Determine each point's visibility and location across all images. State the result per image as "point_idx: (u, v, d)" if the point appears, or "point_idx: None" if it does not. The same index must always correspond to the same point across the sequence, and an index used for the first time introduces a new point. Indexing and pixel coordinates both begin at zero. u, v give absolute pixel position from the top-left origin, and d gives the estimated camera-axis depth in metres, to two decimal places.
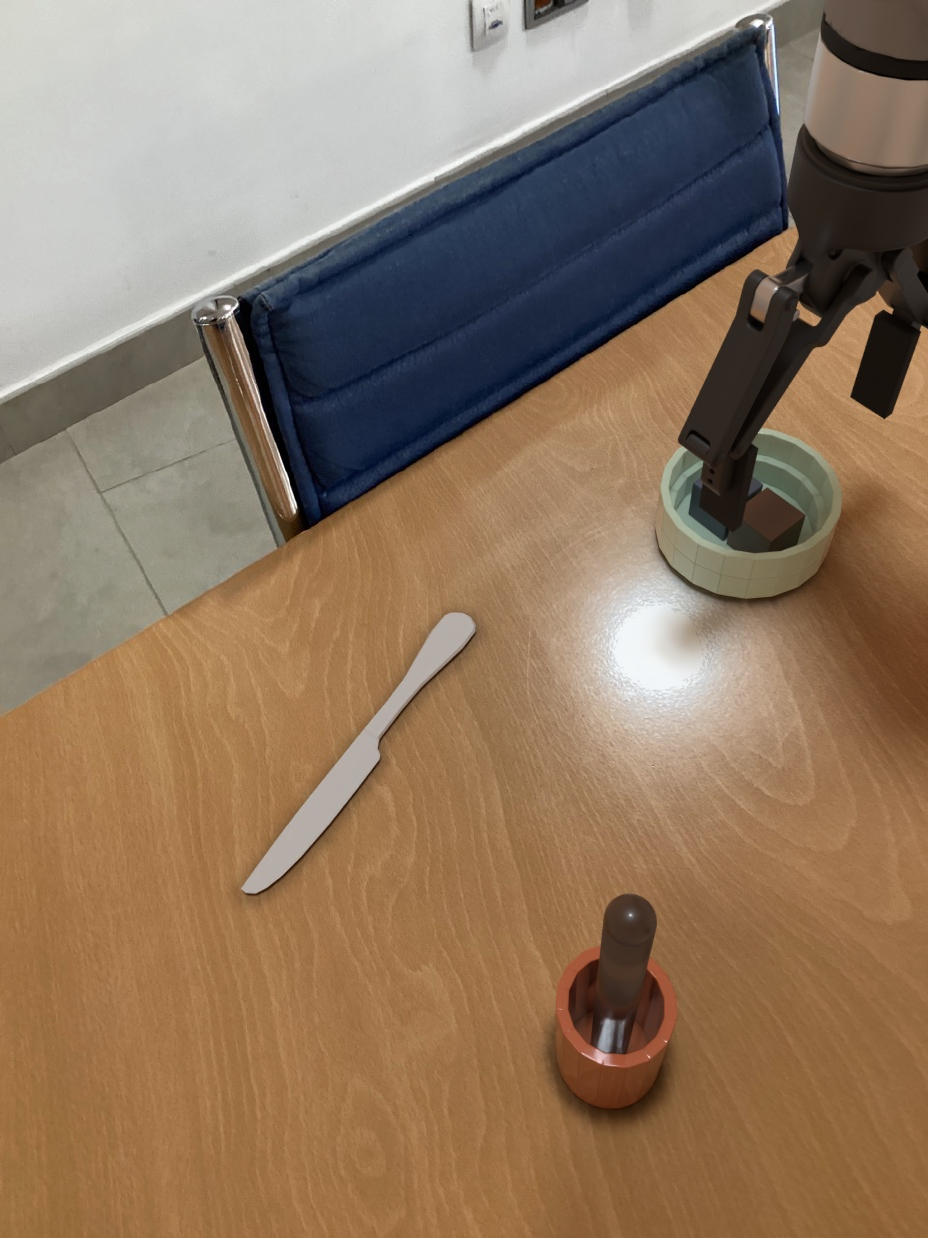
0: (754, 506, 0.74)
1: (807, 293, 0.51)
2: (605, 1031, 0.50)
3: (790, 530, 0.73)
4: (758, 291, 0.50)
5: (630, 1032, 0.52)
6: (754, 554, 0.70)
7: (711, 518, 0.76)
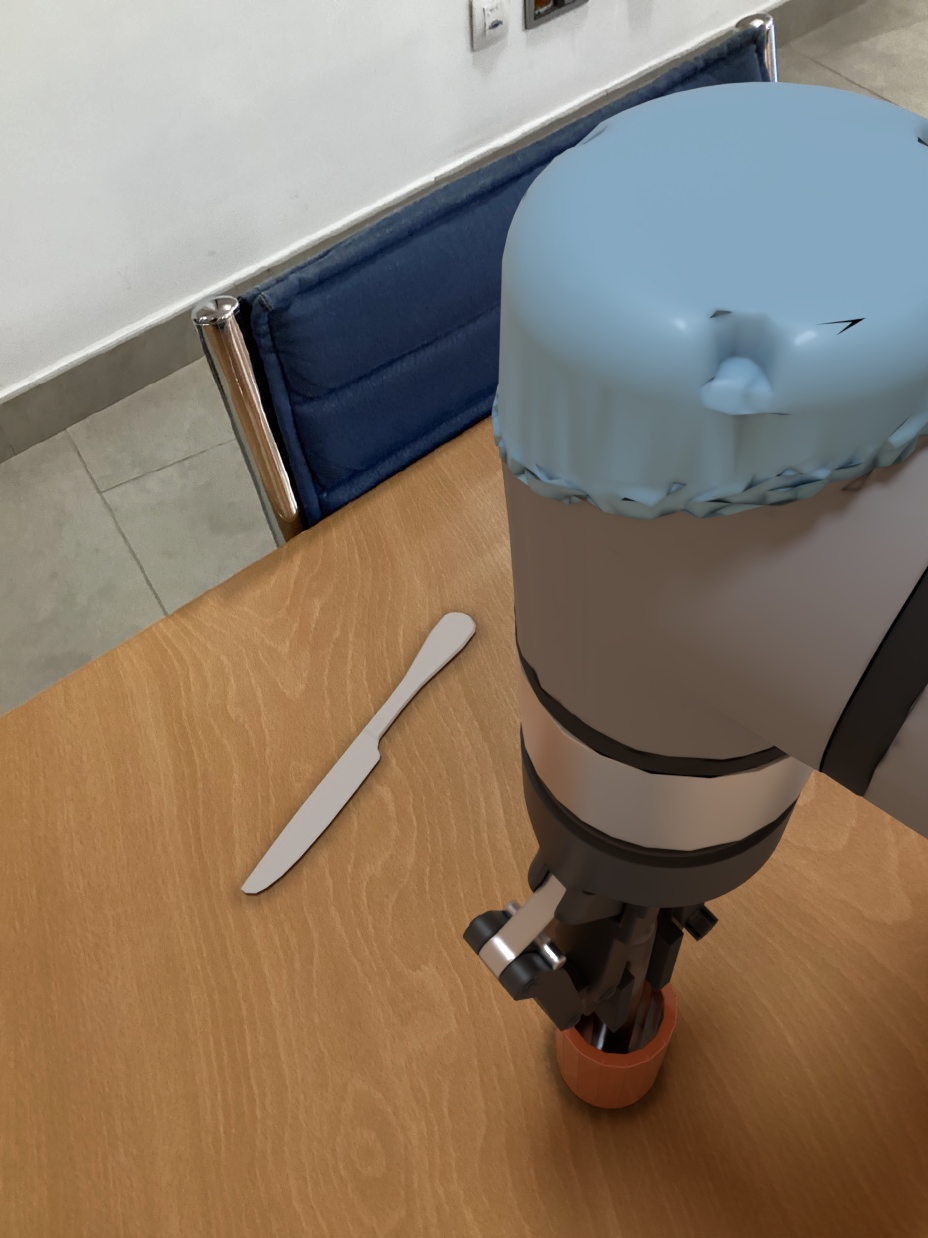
0: None
1: (561, 922, 0.31)
2: (606, 1031, 0.50)
3: None
4: None
5: (631, 1032, 0.51)
6: None
7: None
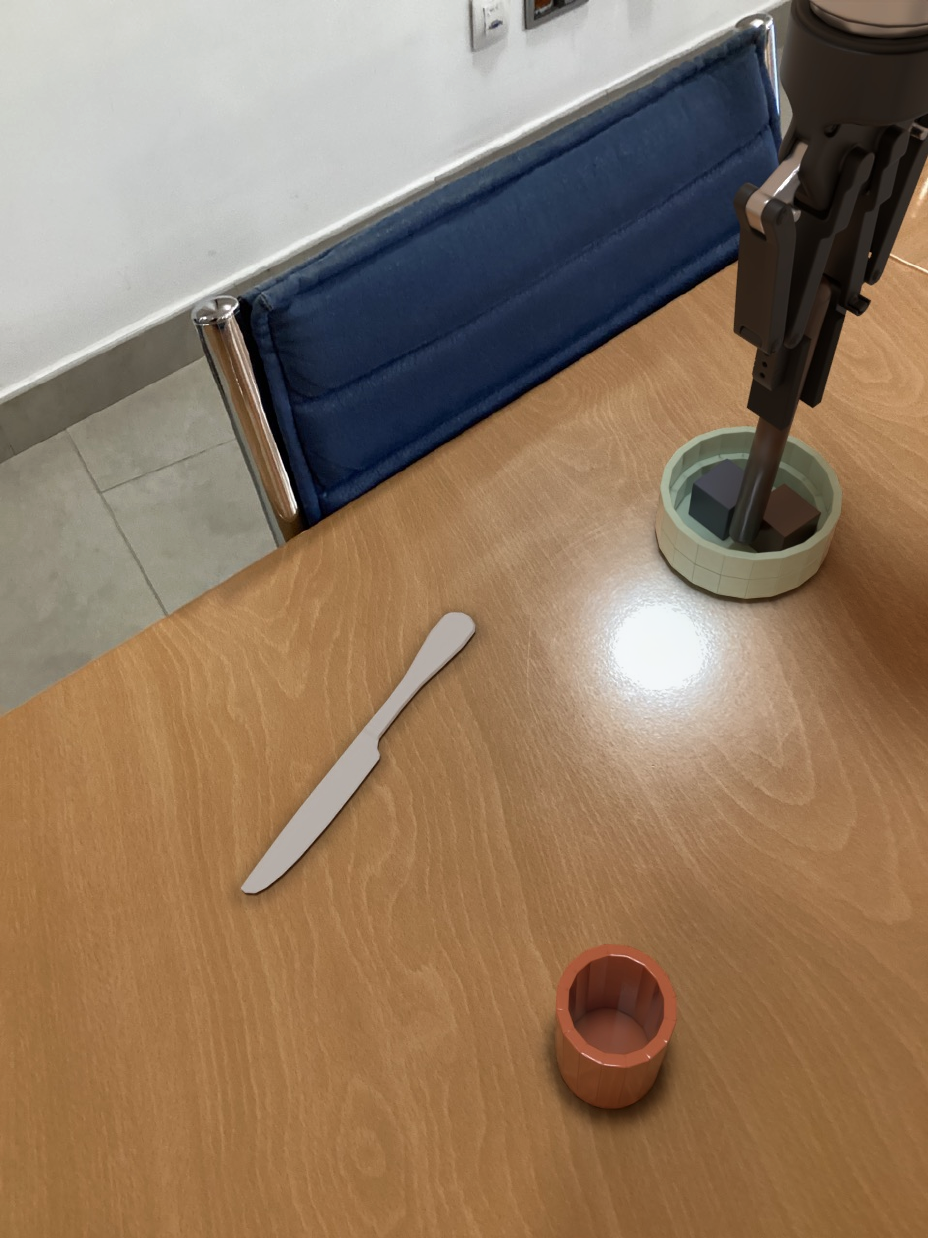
0: (770, 501, 0.74)
1: (802, 177, 0.48)
2: (760, 473, 0.68)
3: (804, 527, 0.73)
4: (748, 211, 0.49)
5: None
6: (754, 554, 0.70)
7: (711, 518, 0.76)
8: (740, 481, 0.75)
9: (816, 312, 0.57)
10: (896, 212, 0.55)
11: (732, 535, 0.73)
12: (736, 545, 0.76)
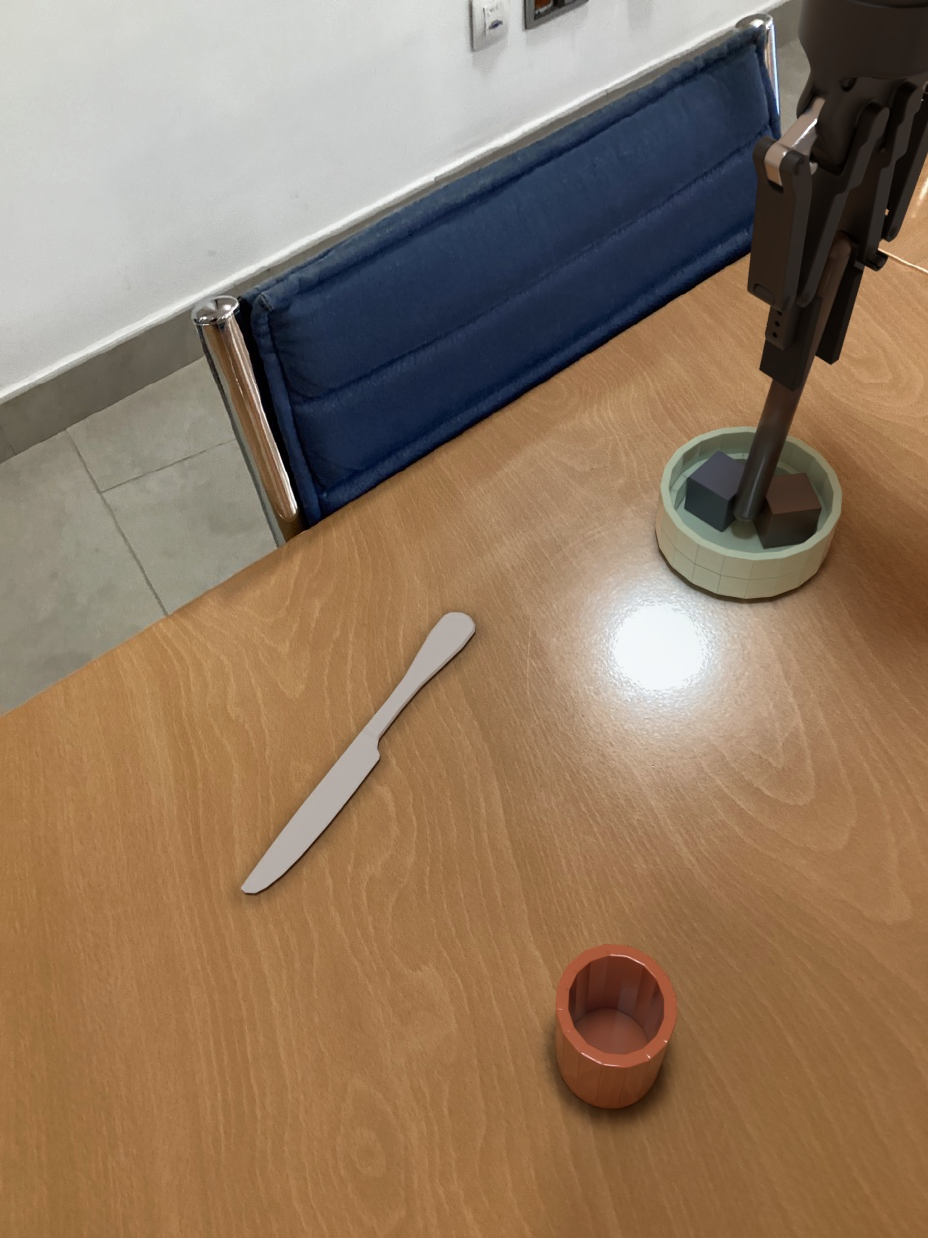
0: (781, 481, 0.75)
1: (819, 130, 0.50)
2: (767, 440, 0.69)
3: (799, 514, 0.73)
4: (766, 163, 0.51)
5: (780, 453, 0.70)
6: (754, 554, 0.70)
7: (709, 510, 0.76)
8: (735, 471, 0.75)
9: (834, 267, 0.59)
10: (912, 169, 0.57)
11: (734, 510, 0.74)
12: (736, 545, 0.76)
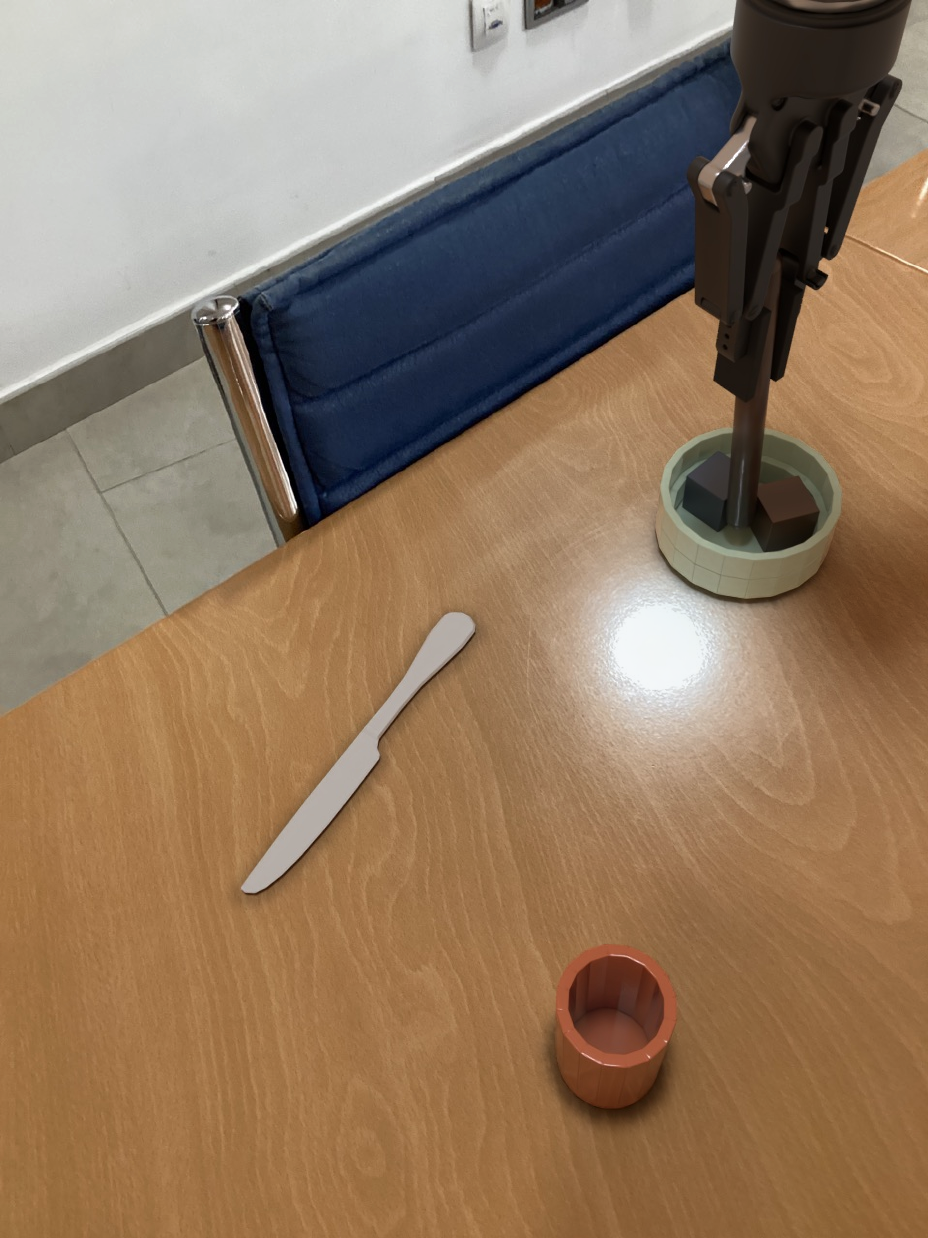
0: (775, 487, 0.74)
1: (752, 149, 0.50)
2: (735, 449, 0.69)
3: (798, 520, 0.73)
4: (700, 184, 0.51)
5: (754, 466, 0.70)
6: (754, 554, 0.70)
7: (705, 510, 0.76)
8: None
9: None
10: (851, 187, 0.57)
11: None
12: (736, 545, 0.76)
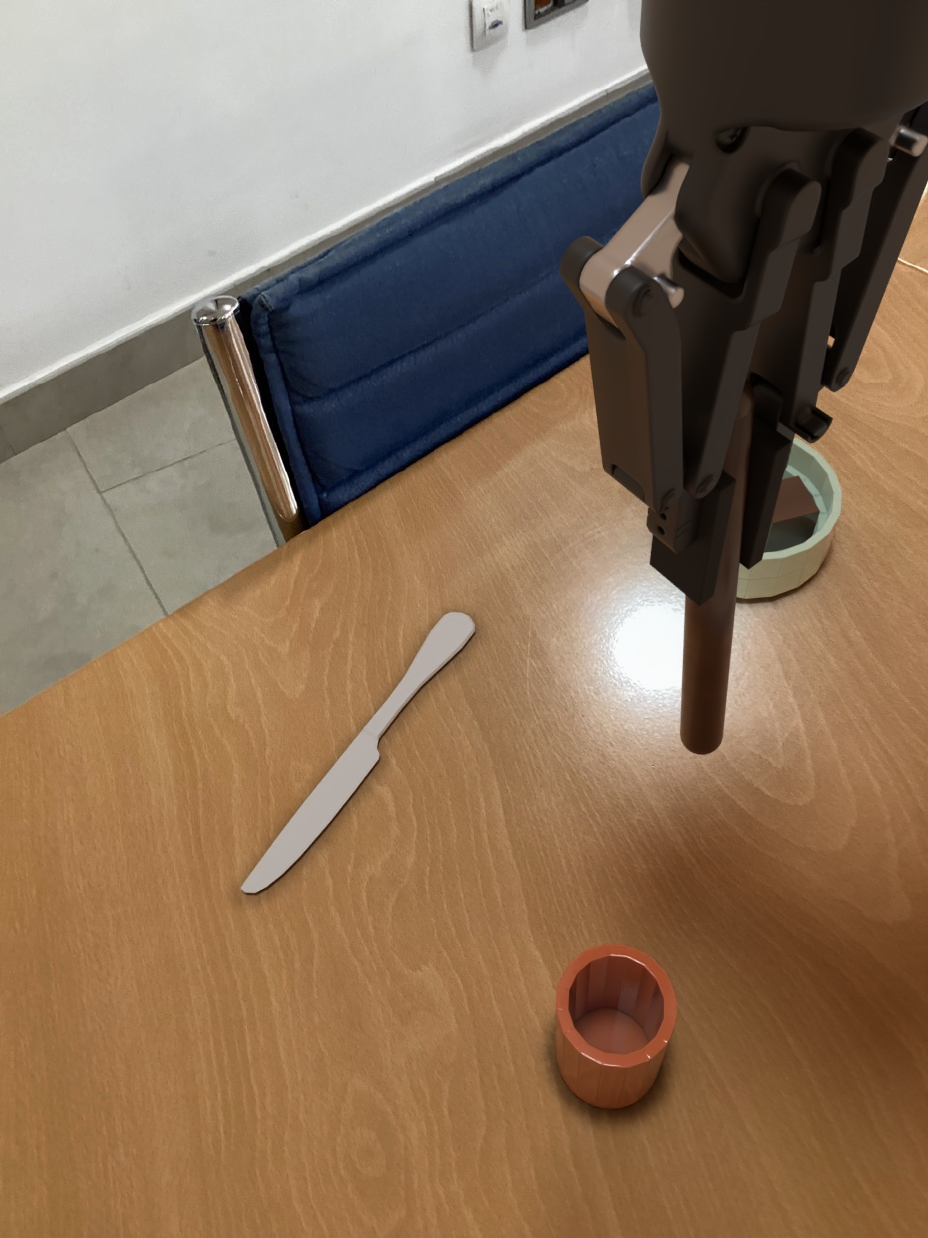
0: None
1: (682, 226, 0.26)
2: (688, 657, 0.45)
3: (798, 520, 0.73)
4: (584, 290, 0.26)
5: (718, 679, 0.45)
6: None
7: None
8: None
9: None
10: (873, 278, 0.32)
11: (680, 731, 0.50)
12: None
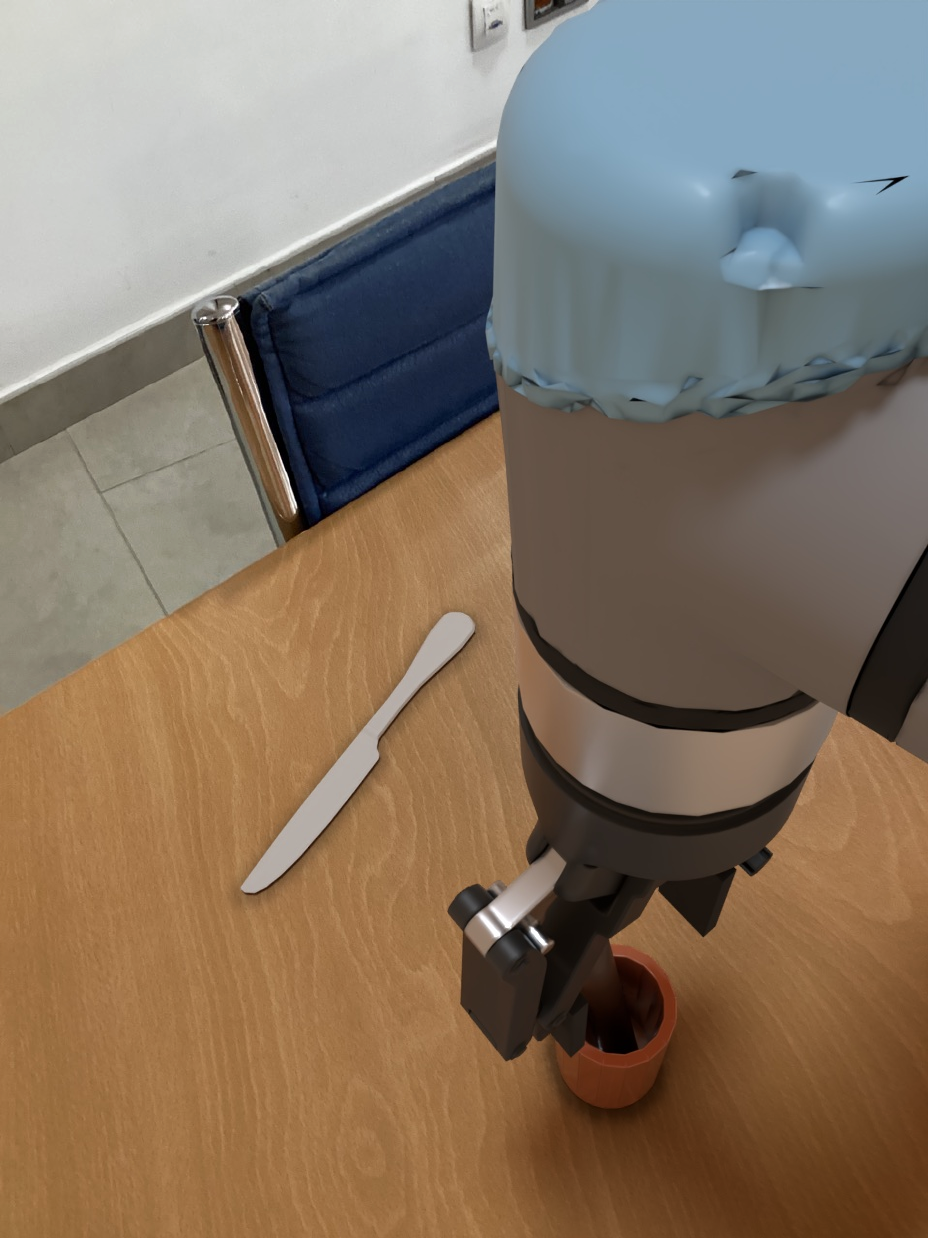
0: None
1: (561, 898, 0.29)
2: (588, 1014, 0.51)
3: None
4: (467, 937, 0.29)
5: (618, 1031, 0.52)
6: None
7: None
8: None
9: None
10: None
11: None
12: None
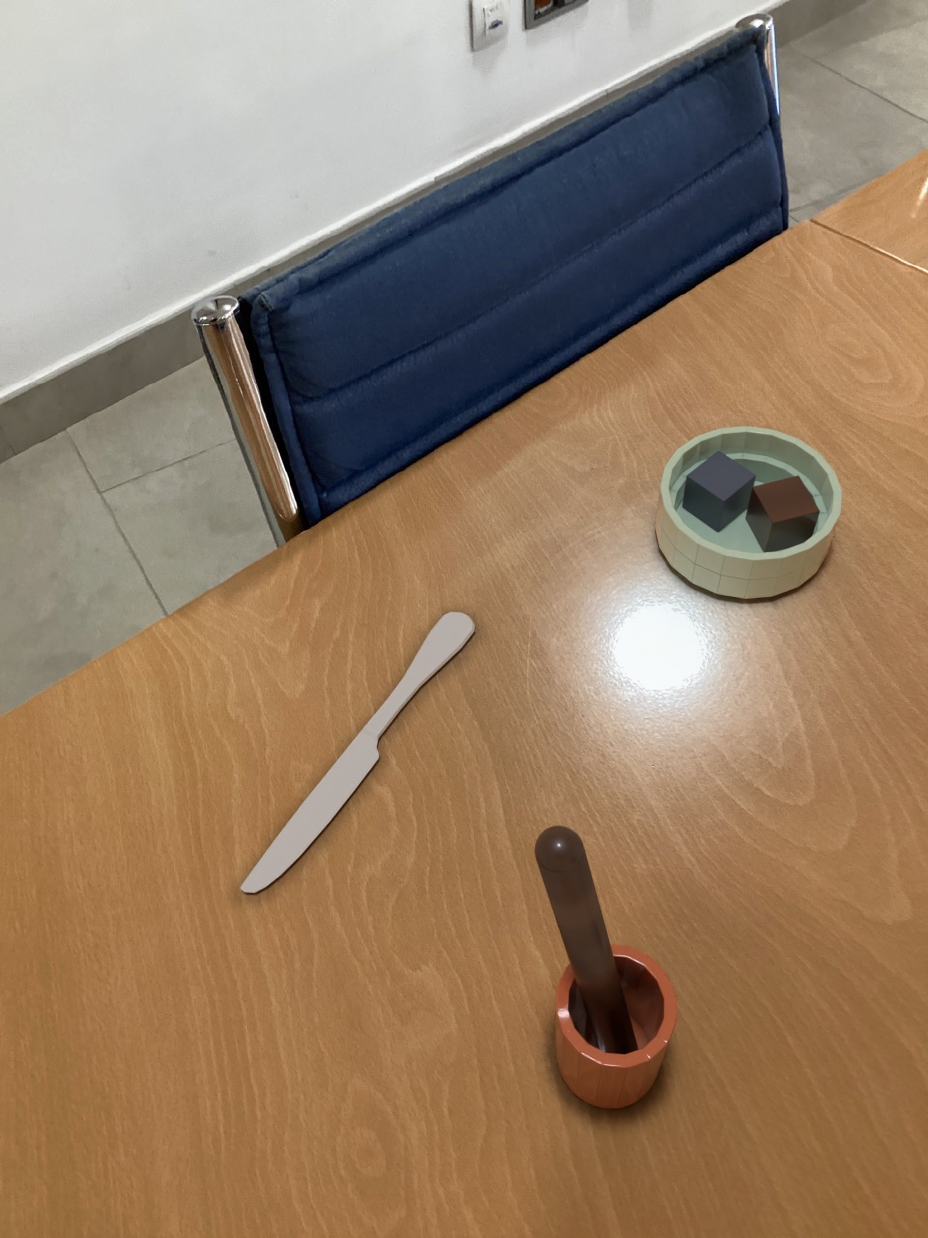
0: (775, 487, 0.74)
1: None
2: (588, 1014, 0.51)
3: (798, 520, 0.73)
4: None
5: (618, 1031, 0.52)
6: (754, 554, 0.70)
7: (705, 510, 0.76)
8: (733, 472, 0.75)
9: (552, 878, 0.42)
10: None
11: None
12: (736, 545, 0.76)
